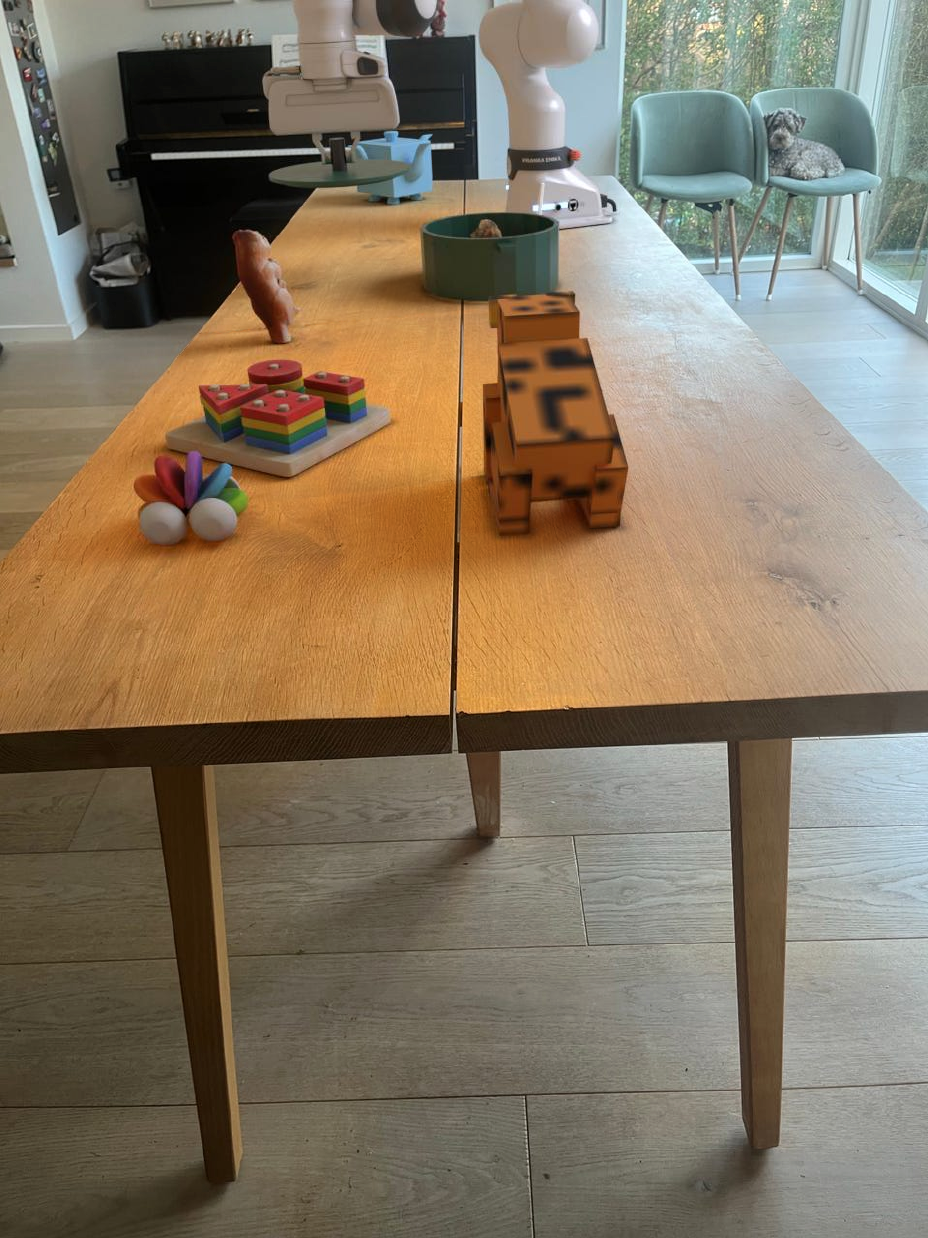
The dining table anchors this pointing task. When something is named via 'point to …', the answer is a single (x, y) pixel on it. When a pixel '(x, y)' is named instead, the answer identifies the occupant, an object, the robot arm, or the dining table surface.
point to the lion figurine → (486, 230)
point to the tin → (490, 256)
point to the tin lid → (339, 171)
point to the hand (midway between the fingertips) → (339, 163)
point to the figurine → (264, 284)
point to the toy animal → (548, 416)
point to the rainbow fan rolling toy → (188, 501)
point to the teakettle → (404, 151)
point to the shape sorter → (280, 419)
